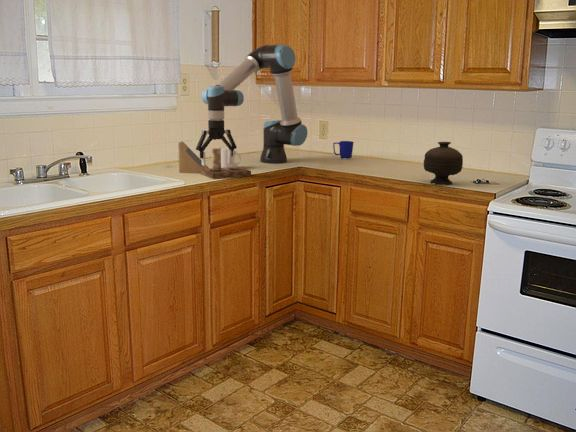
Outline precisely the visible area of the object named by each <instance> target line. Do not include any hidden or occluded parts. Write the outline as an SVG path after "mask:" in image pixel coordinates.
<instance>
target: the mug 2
mask: <svg viewBox="0 0 576 432" xmlns="http://www.w3.org/2000/svg"><path fill="white" fill-rule="evenodd" d="M335 145H339V146H338V147H339V153H336V150H335V149H336V148H335V147H336V146H335ZM332 146H333V153H334V155H335V156H339V157H340V158H341V159H343V158H350V159H351V158H352V157H353V156H352V155H353V148H354V141H350V140H341V141H338V142H333V145H332Z"/></svg>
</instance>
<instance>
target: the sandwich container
mask: <svg viewBox="0 0 576 432" xmlns="http://www.w3.org/2000/svg"><path fill="white" fill-rule="evenodd" d="M177 145H178V173H180V174H201V169H211V167H209V166H208V165H206V163H205V166H203V165H202V158H200V156H198V155H197V154H196V153H195V152H194V151H193V150H192V149H191V148H190V147H189V146H188V145H187V144H186V143H185V142H184V141H183V140H182V141H179V142H178V144H177Z"/></svg>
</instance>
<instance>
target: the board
mask: <svg viewBox="0 0 576 432" xmlns="http://www.w3.org/2000/svg"><path fill="white" fill-rule="evenodd" d="M200 174H201V175H203V176H204V177H207V178H209V179H212V180H216V179H217V180H218V179H228V178H229V179H230V178H241V177H251V176H252V170H249V169H247V168H242V167H241V166H234V167H226V168H221V171H220V172H212V167H210V169H201V173H200Z"/></svg>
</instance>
